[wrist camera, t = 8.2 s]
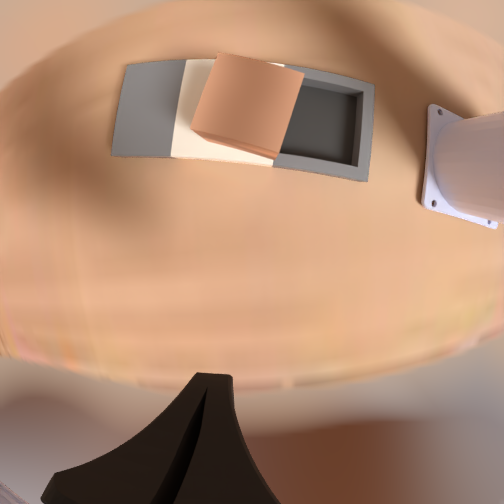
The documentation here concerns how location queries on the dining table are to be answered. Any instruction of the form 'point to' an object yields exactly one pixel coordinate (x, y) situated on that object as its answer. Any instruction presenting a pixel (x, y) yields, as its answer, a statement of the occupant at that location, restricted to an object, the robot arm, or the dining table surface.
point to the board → (195, 147)
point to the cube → (247, 104)
